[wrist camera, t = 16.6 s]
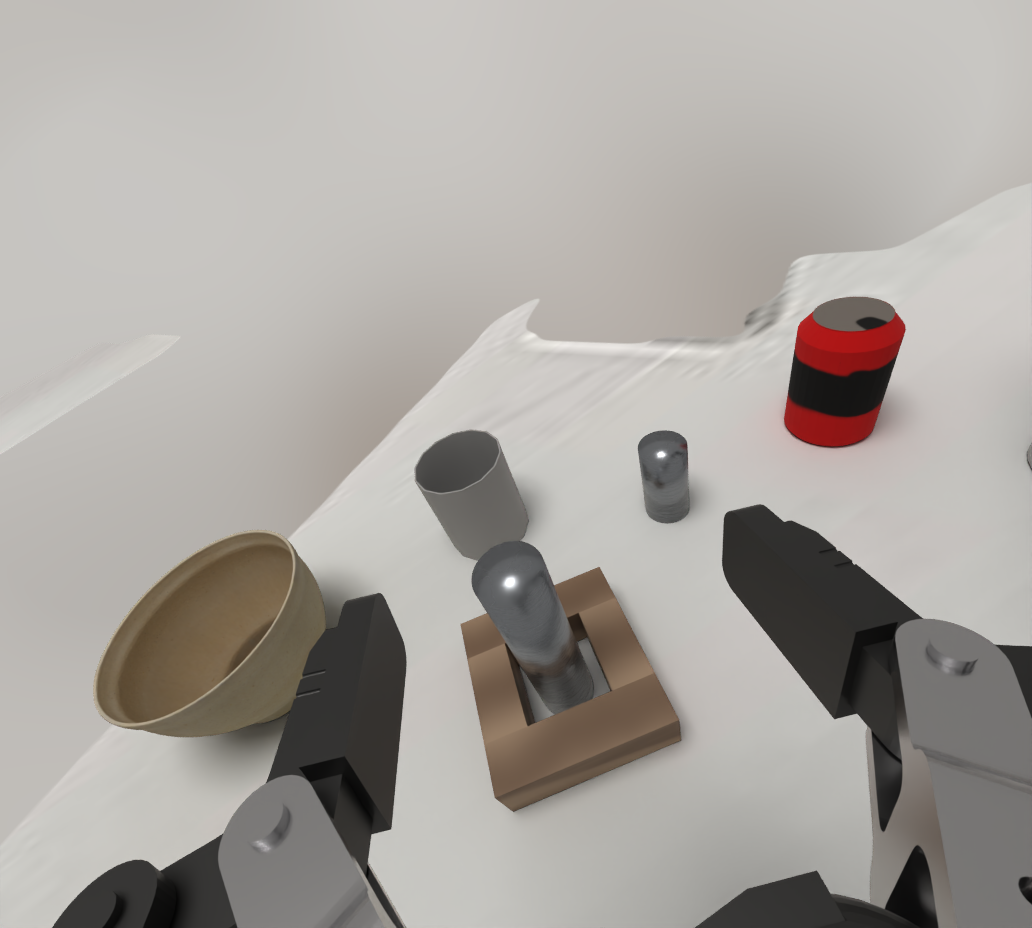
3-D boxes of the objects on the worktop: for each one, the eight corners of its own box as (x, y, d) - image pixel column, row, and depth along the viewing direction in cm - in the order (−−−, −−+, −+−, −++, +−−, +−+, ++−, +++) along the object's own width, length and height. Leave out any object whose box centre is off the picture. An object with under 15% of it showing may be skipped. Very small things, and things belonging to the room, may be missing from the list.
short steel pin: (649, 489, 46) (642, 429, 41) (691, 493, 44) (690, 431, 39) (642, 520, 44) (633, 461, 38) (686, 525, 42) (684, 464, 37)
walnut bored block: (476, 646, 39) (460, 624, 36) (606, 592, 39) (599, 566, 37) (513, 811, 30) (494, 797, 27) (681, 740, 30) (679, 719, 28)
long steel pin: (550, 656, 37) (488, 536, 26) (599, 669, 35) (554, 546, 24) (534, 708, 34) (459, 598, 24) (585, 724, 32) (529, 614, 22)
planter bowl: (297, 572, 51) (231, 511, 44) (395, 625, 43) (334, 559, 36) (168, 712, 43) (61, 663, 36) (259, 814, 34) (142, 776, 27)
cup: (447, 565, 46) (405, 500, 40) (457, 504, 52) (422, 439, 46) (528, 553, 45) (498, 484, 38) (529, 491, 51) (503, 422, 44)
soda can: (817, 458, 43) (842, 348, 35) (767, 415, 49) (780, 312, 41) (893, 431, 43) (936, 314, 35) (835, 391, 49) (860, 283, 41)
